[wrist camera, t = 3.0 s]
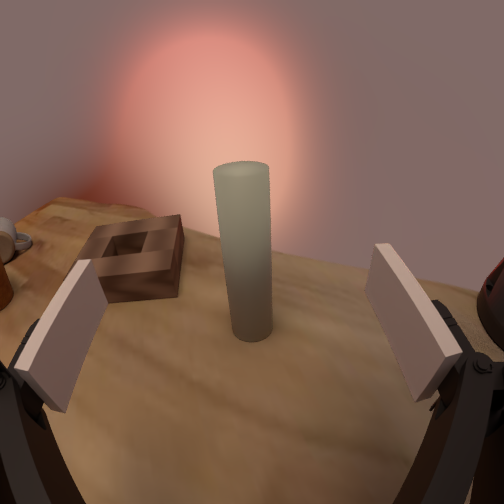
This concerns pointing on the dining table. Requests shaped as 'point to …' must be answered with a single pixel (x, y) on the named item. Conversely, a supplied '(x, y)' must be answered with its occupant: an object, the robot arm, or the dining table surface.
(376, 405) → the dining table surface
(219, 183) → the peg
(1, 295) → the disposable coffee cup
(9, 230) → the ceramic mug
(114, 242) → the socket block
